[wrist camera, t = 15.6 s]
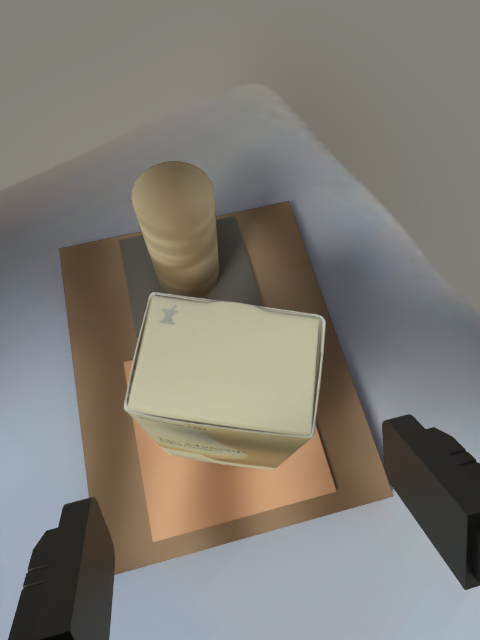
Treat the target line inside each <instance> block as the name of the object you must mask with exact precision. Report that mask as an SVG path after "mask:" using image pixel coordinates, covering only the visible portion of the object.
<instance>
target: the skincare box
mask: <svg viewBox="0 0 480 640" xmlns="http://www.w3.org/2000/svg"><path fill="white" fill-rule="evenodd" d="M325 328H326V321H325V319H324V318H323V317H322V316H321V315H318V314H310V313H303V312H296V311H289V310H282V309H275V308H268V307H261V306H255V305H249V304H243V303H237V302H226V301H216V300H209V299H202V298H195V297H187V296H180V295H172V294H164V293H159V292H152V293H151V294H150V296H149V300H148V303H147V308H146V311H145V314H144V318H143V322H142V326H141V330H140V333H139V338H138V342H137V346H136V350H135V354H134V358H133V363H132V367H131V371H130V376H129V381H128V386H127V392H126V397H125V402H124V410H125V411H126V412H127V413H128V414H129V415H130V416H131V417H132V418H133V419H134V420H135V421H136V422H137V423H138V424H139V425H140V426H141V427H142V428H143V429H144V430H145V431H146V432H147V433H148V434H149V435H150V436H151V438H153V440H155V441H156V442H157V444H158V445H159V446H160V447H161V448H162V449H163V450H164V451H165V452H166V453H167V454H169V455H172V456H177V457H182V458H188V459H193V460H198V461H204V462H210V463H217V464H223V465H231V466H239V467H248V468H256V469H265V470H275V469H276V468H277V467H278V466H279V465H280V464H282V463H283V462H284V461H285V460H286V459H287V458H289V457H290V456H291V455H292V454H293V453H294V452H296V451H297V450H298V449H299V448H301V447H302V446H303V445H304V444H305V443H306V442H308V441H309V440H310V439H311V438H312V437H313V435H314V433H315V423H316V414H317V406H318V399H319V391H320V383H321V372H322V362H323V353H324V340H325Z"/></svg>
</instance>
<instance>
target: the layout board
mask: <svg viewBox="0 0 480 640" xmlns="http://www.w3.org/2000/svg"><path fill="white" fill-rule="evenodd" d="M132 203H133V207H134V210H135V213H136V216H137V219H138V222H139V225H140V228H141V231H142V232H138V233H133V234H128V235H123V236H118V237H114V238H109V239H104V240H99V241H94V242H89V243H85V244H80V245H75V246H70V247H65V248H60V249H59V251H60V259H61V267H62V276H63V284H64V292H65V301H66V309H67V317H68V326H69V334H70V342H71V351H72V359H73V367H74V376H75V384H76V392H77V401H78V409H79V417H80V426H81V434H82V442H83V451H84V459H85V467H86V476H87V484H88V492H89V498H91V497H95V498H96V500H97V502H98V504H99V507H100V509H101V512H102V514H103V517H104V519H105V522H106V525H107V527H108V530H109V532H110V535H111V538H112V541H113V545H114V552H115V570H114V575H116V574H119V573H123V572H126V571H130V570H133V569H137V568H140V567H144V566H148V565H151V564H155V563H158V562H162V561H165V560H169V559H173V558H176V557H180V556H183V555H187V554H190V553H194V552H197V551H201V550H205V549H208V548H212V547H215V546H219V545H222V544H226V543H229V542H233V541H237V540H240V539H244V538H247V537H251V536H254V535H258V534H261V533H265V532H269V531H272V530H276V529H279V528H283V527H286V526H290V525H293V524H297V523H301V522H304V521H308V520H311V519H315V518H318V517H322V516H325V515H329V514H333V513H336V512H340V511H343V510H347V509H350V508H354V507H357V506H361V505H365V504H368V503H372V502H375V501H379V500H382V499H386V498H389V497H393V493H392V490H391V487H390V485H389V482H388V479H387V476H386V473H385V471H384V468H383V465H382V462H381V459H380V456H379V454H378V451H377V448H376V445H375V442H374V440H373V437H372V434H371V431H370V428H369V426H368V423H367V420H366V417H365V414H364V411H363V409H362V406H361V403H360V400H359V397H358V395H357V392H356V389H355V386H354V383H353V381H352V378H351V375H350V372H349V369H348V367H347V364H346V361H345V358H344V355H343V352H342V350H341V347H340V344H339V341H338V338H337V336H336V333H335V330H334V327H333V324H332V322H331V319H330V316H329V313H328V310H327V308H326V305H325V302H324V299H323V296H322V293H321V291H320V288H319V285H318V282H317V279H316V277H315V274H314V271H313V268H312V265H311V263H310V260H309V257H308V254H307V251H306V248H305V246H304V243H303V240H302V237H301V234H300V232H299V229H298V226H297V223H296V220H295V218H294V215H293V212H292V209H291V206H290V204H289V201H288V202H283V203H278V204H274V205H269V206H264V207H259V208H254V209H249V210H244V211H240V212H235V213H230V214H225V215H220V216H215V201H214V189H213V185H212V182H211V180H210V178H209V177H208V176H207V174H206V173H205V172H204V171H202V170H201V169H200V168H198V167H196V166H194V165H192V164H189V163H186V162H179V161H170V162H164V163H160V164H157V165H155V166H152V167H150V168H149V169H147V170H146V171H145V172H143V173H142V174H141V175H140V176H139V178H138V179H137V180H136V182H135V184H134V186H133V189H132ZM152 292H159V293H164V294H172V295H180V296H187V297H195V298H202V299H209V300H216V301H226V302H237V303H243V304H249V305H255V306H261V307H268V308H275V309H282V310H289V311H296V312H303V313H310V314H318V315H321V316H322V317H323V318H324V319H325V321H326V328H325V340H324V353H323V362H322V372H321V383H320V391H319V399H318V406H317V414H316V423H315V433H314V435H313V437H312V438H311V439H310V440H309V441H308V442H306V443H305V444H304V445H303V446H302V447H301V448H299V449H298V450H297V451H296V452H294V453H293V454H292V455H291V456H290V457H289V458H287V459H286V460H285V461H284V462H283V463H282V464H280V465H279V466H278V467H277V468H276V469H275V470H265V469H256V468H248V467H239V466H231V465H223V464H217V463H210V462H204V461H198V460H193V459H188V458H182V457H177V456H172V455H169V454H167V453H166V452H165V451H164V450H163V449H162V448H161V447H160V446H159V445H158V444H157V442H156V441H155V440H153V438H151V436H150V435H149V434H148V433H147V432H146V431H145V430H144V429H143V428H142V427H141V426H140V425H139V424H138V423H137V422H136V421H135V420H134V419H133V418H132V417H131V416H130V415H129V414H128V413H127V412H126V411H125V410H124V402H125V397H126V392H127V386H128V381H129V376H130V371H131V367H132V363H133V358H134V354H135V350H136V346H137V342H138V338H139V333H140V330H141V326H142V322H143V318H144V314H145V311H146V308H147V303H148V300H149V296H150V294H151V293H152Z"/></svg>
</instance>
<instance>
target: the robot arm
mask: <svg viewBox="0 0 480 640" xmlns="http://www.w3.org/2000/svg"><path fill="white" fill-rule="evenodd" d="M382 434H383V452H384V466H385V470H386V474H387V476H388V479H389V481H390V483H391V485H392V487H393V488H394V489H395V491H396V492H397V494H398V495H399V497H400V498H401V499H402V501H403V502H404V504H405V505H406V507H407V508H408V509H409V511H410V512H411V514H412V515H413V517H414V518H415V519H416V521H417V522H418V524H419V525H420V527H421V528H422V529H423V531H424V532H425V534H426V535H427V537H428V538H429V539H430V541H431V542H432V544H433V545H434V547H435V548H436V549H437V551H438V552H439V554H440V555H441V557H442V558H443V559H444V561H445V562H446V564H447V565H448V567H449V568H450V569H451V571H452V572H453V574H454V575H455V577H456V578H457V579H458V581H459V582H460V584H461V585H462V587H463V588H464V589H465V590H467V589H470V588H473V587H477V586H480V463H477V462H476V459H475V458H474V457H473V456H472V455H471V454H470V453H468V452H466V451H465V449H464V448H463V447H462V446H461V445H460V444H459V443H458V442H457V441H456V440H455V439H454V438H453V437H452V436H450V435H448V434H446V433H444V432H442V431H440V430H438V429H436V428H435V427H433V428H429V429H425V428H424V427H423V426H422V425H421V424H420V423H419V422H418V421H417V420H416V419H415V418H414V417H413V416H412V415H410V414H408V415H404V416H400V417H396V418H393V419H389V420H385V421H383V423H382ZM114 570H115V552H114V545H113V541H112V538H111V535H110V532H109V530H108V527H107V525H106V522H105V519H104V517H103V514H102V512H101V509H100V507H99V504H98V502H97V500H96V498H95V497H91V498H87V499H83V500H80V501H76V502H72V503H68V504H65V505H64V507H63V509H62V513H61V518H60V522H59V527H58V528H55V529H51V530H47V531H46V532H45V533H44V535H43V536H42V538H41V539H40V541H39V542H38V544H37V545H36V546H35V548H34V549H33V552H32V556H31V559H30V563H29V567H28V573H27V574H26V577H25V581H24V584H23V587H24V589H23V590H22V592H21V595H20V599H19V602H18V606H17V610H16V613H15V617H14V620H13V624H12V628H11V631H10V635H9V638H8V640H109V635H110V622H111V609H112V596H113V583H114Z"/></svg>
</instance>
